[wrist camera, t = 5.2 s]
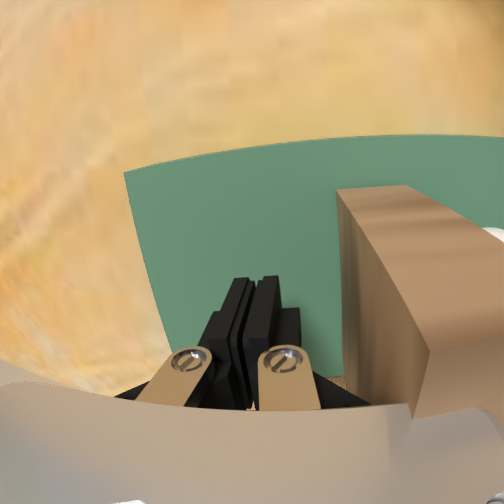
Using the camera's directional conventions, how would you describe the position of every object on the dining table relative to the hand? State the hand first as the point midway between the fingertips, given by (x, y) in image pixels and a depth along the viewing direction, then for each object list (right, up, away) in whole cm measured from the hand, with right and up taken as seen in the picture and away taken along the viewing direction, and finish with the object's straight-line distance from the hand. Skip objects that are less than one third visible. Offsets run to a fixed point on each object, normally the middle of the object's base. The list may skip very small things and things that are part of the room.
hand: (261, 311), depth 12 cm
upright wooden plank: (+5, +1, +1) cm, 5 cm away
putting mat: (+12, +3, +3) cm, 12 cm away
